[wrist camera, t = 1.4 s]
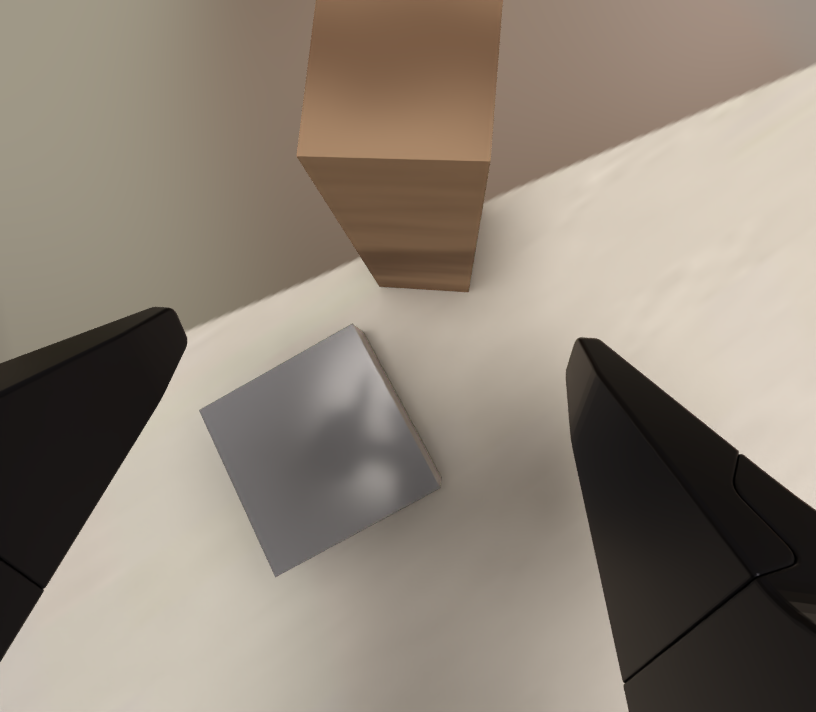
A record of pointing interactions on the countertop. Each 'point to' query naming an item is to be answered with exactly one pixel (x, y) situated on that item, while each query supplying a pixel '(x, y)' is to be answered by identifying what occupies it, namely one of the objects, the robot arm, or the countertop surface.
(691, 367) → the countertop surface
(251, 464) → the light grey plinth
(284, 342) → the countertop surface
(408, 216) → the walnut pillar
